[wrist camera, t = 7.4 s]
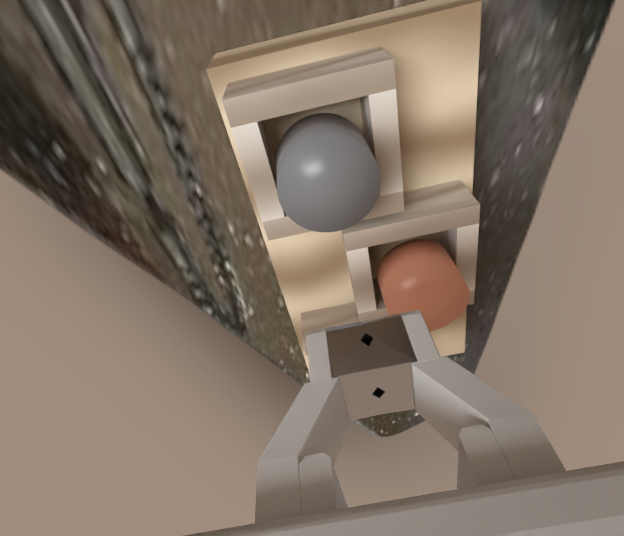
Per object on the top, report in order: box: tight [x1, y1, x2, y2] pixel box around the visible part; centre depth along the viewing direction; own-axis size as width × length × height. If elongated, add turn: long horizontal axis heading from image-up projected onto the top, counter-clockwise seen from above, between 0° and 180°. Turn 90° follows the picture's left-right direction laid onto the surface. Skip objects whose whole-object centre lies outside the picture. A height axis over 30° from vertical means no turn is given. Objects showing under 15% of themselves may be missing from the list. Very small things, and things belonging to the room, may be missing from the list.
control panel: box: [206, 0, 482, 370], centre depth 27 cm, size 25×13×7 cm, turn 12°
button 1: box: [276, 113, 381, 232], centre depth 18 cm, size 4×4×3 cm
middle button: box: [377, 239, 470, 331], centre depth 23 cm, size 4×4×3 cm
